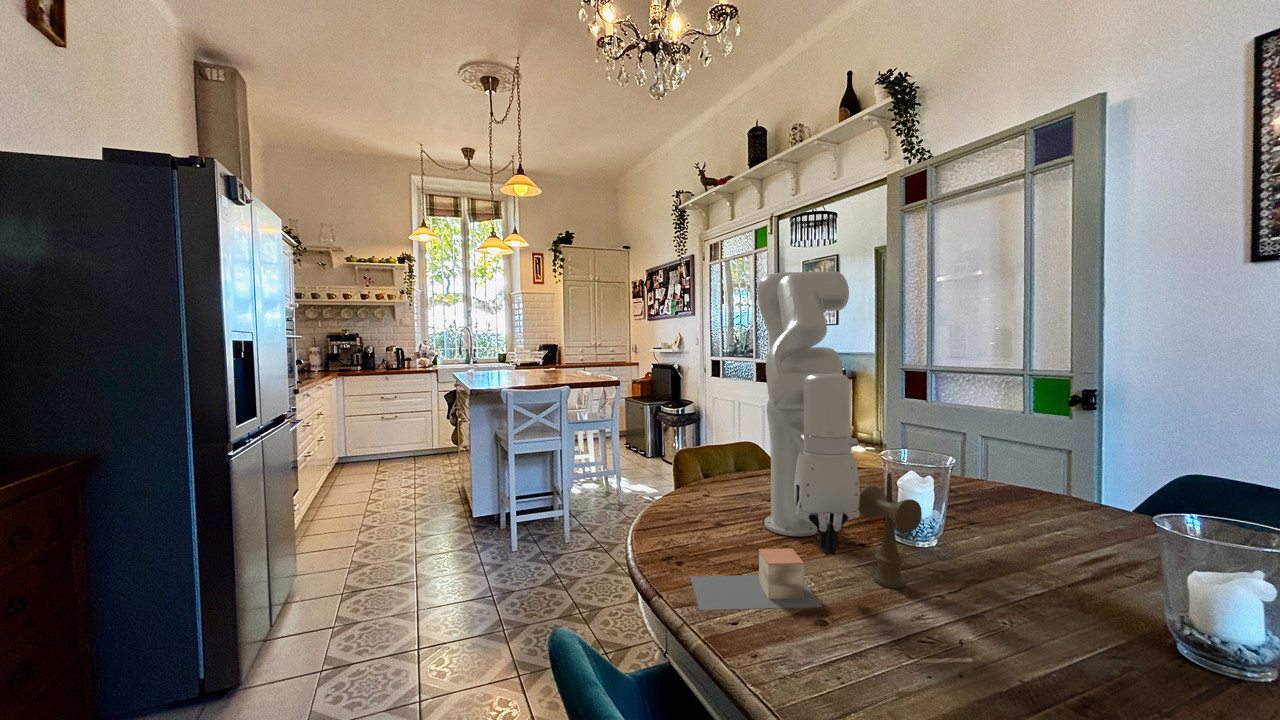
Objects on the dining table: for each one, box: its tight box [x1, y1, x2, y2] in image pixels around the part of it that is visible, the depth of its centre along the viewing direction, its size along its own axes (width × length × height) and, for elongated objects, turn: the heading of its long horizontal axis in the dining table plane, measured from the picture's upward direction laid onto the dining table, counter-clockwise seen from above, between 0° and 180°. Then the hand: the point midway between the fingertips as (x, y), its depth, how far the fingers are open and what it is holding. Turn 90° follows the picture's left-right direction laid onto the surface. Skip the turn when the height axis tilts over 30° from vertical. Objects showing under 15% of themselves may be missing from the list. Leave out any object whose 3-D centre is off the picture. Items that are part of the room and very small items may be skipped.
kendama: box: [858, 472, 923, 589], centre depth 92 cm, size 6×10×20 cm, turn 20°
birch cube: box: [758, 548, 805, 599], centre depth 89 cm, size 6×6×6 cm
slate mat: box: [689, 574, 823, 611], centre depth 89 cm, size 20×12×1 cm, turn 92°
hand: (827, 551), depth 89 cm, fingers closed
